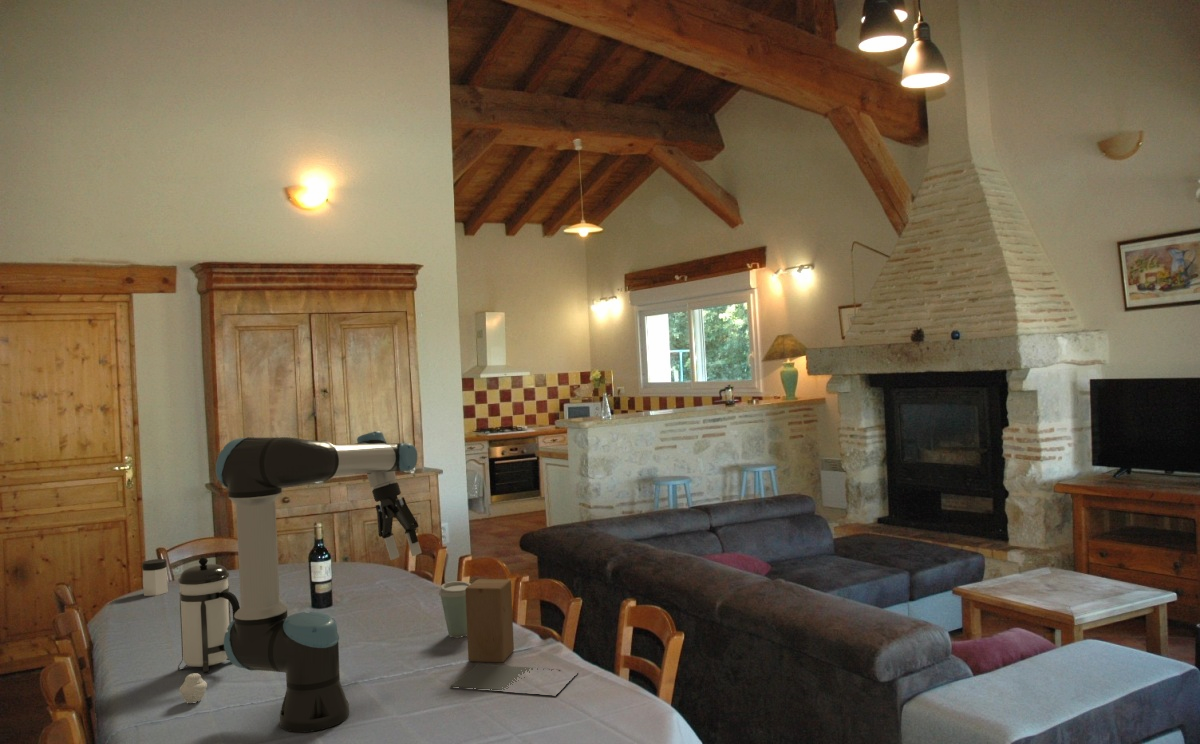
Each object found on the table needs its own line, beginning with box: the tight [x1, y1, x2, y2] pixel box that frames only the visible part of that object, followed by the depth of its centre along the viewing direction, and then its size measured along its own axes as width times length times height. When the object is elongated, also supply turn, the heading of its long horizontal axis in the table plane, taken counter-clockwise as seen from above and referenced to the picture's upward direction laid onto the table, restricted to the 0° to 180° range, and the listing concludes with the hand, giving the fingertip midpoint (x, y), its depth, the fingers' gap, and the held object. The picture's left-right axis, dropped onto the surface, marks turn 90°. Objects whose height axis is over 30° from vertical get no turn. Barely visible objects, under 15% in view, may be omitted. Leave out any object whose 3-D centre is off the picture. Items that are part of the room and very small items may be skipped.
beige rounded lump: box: [179, 672, 208, 704], centre depth 215 cm, size 6×6×7 cm
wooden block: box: [465, 578, 515, 663], centre depth 240 cm, size 10×10×20 cm
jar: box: [141, 558, 168, 597], centre depth 328 cm, size 9×8×12 cm
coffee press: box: [177, 556, 241, 674], centre depth 242 cm, size 17×16×30 cm
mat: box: [449, 663, 558, 690], centre depth 220 cm, size 16×28×1 cm, turn 72°
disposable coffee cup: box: [438, 580, 472, 638], centre depth 261 cm, size 11×11×15 cm
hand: (405, 556), depth 249 cm, fingers open, 13 cm apart
